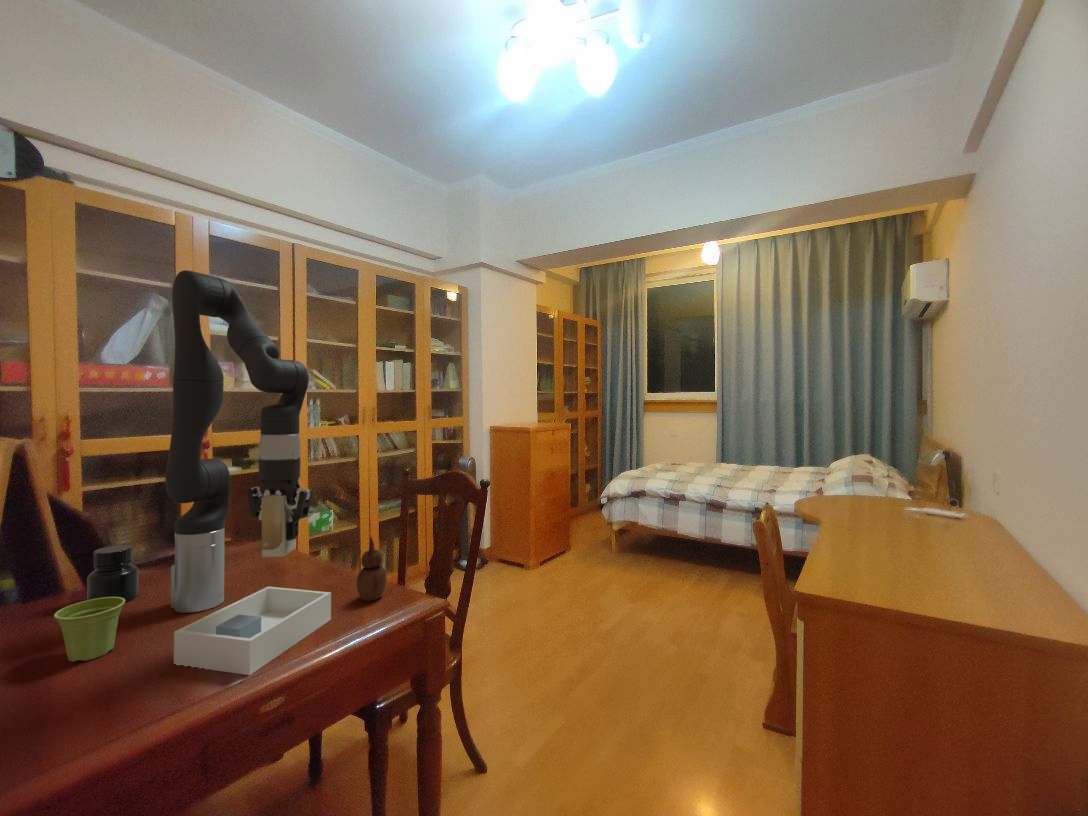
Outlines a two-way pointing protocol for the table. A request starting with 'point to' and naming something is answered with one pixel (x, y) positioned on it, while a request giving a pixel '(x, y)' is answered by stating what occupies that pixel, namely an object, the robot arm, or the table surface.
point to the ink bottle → (113, 574)
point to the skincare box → (275, 527)
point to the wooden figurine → (371, 575)
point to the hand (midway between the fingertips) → (279, 538)
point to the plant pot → (90, 627)
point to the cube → (240, 626)
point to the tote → (281, 628)
